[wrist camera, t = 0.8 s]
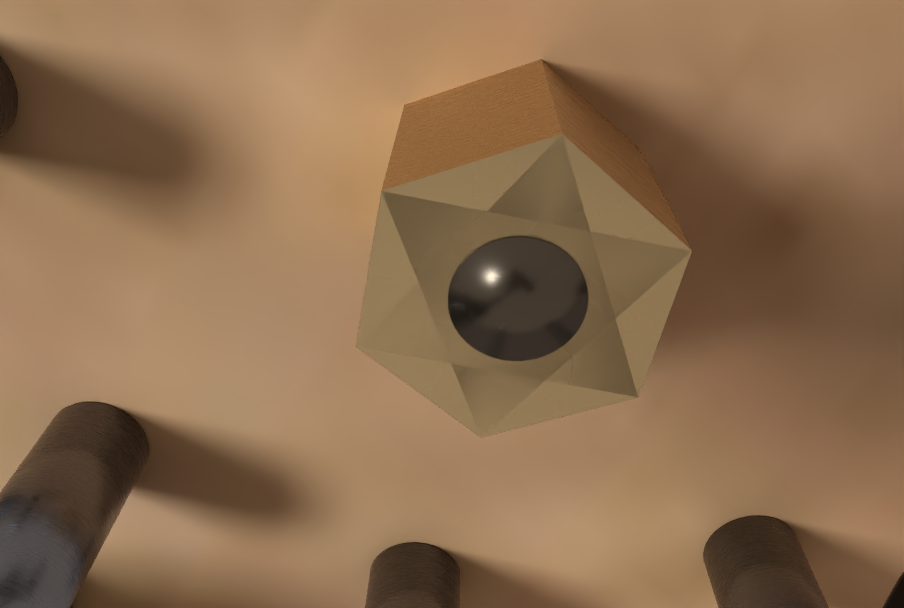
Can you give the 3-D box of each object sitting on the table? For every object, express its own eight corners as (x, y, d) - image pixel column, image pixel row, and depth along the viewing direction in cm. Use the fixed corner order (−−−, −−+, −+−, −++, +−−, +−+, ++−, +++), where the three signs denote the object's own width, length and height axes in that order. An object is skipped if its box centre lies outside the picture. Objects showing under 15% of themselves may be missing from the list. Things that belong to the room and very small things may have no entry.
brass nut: (585, 327, 21) (615, 462, 16) (373, 288, 20) (343, 415, 16) (662, 84, 18) (723, 167, 13) (417, 32, 17) (396, 101, 13)
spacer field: (834, 674, 26) (923, 884, 21) (-53, 534, 24) (-198, 727, 19) (1513, -417, 14) (2167, -573, 8) (-224, -886, 12) (-797, -1475, 6)
